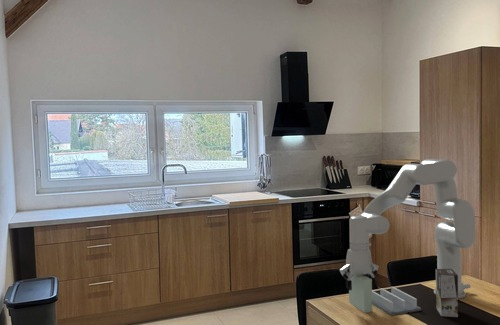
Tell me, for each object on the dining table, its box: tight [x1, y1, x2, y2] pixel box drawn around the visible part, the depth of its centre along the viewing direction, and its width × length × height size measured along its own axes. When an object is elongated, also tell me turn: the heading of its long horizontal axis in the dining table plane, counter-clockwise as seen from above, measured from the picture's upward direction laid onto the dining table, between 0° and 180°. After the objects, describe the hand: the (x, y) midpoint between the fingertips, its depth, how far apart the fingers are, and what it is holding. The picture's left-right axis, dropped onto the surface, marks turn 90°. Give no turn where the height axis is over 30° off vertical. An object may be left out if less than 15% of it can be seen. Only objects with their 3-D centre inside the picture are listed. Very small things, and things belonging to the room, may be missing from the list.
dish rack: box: [372, 286, 422, 316], centre depth 182 cm, size 14×18×4 cm
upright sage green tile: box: [348, 274, 373, 313], centre depth 181 cm, size 4×12×13 cm, turn 17°
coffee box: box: [435, 268, 459, 318], centre depth 172 cm, size 9×6×16 cm
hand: (359, 287), depth 181 cm, fingers open, 9 cm apart
